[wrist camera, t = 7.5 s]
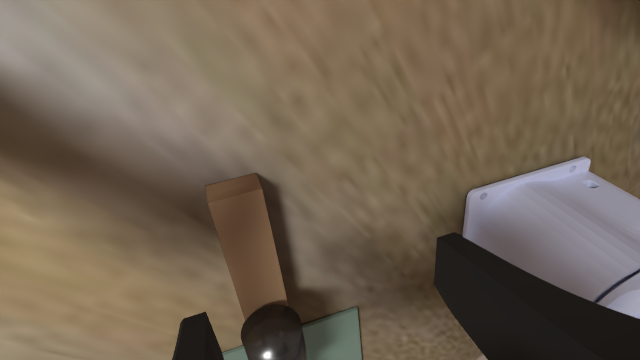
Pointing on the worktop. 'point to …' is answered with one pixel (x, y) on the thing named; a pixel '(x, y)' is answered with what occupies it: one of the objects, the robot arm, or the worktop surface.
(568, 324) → the robot arm
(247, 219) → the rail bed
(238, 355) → the mat
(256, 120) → the worktop surface
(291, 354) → the dark grey round-headed part
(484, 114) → the worktop surface
